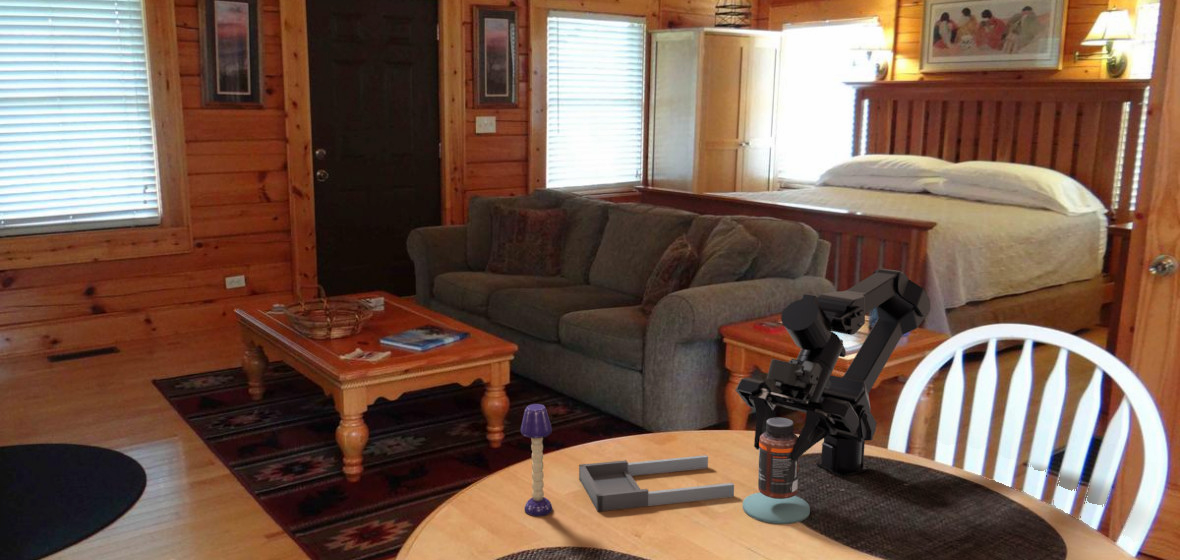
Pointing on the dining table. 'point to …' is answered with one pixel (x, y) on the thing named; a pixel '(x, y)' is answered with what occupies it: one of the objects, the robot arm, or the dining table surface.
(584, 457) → the dining table surface
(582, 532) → the dining table surface
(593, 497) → the trap channel
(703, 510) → the dining table surface
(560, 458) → the dining table surface
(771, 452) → the supplement bottle
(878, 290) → the robot arm
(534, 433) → the toy lamp
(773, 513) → the pad
